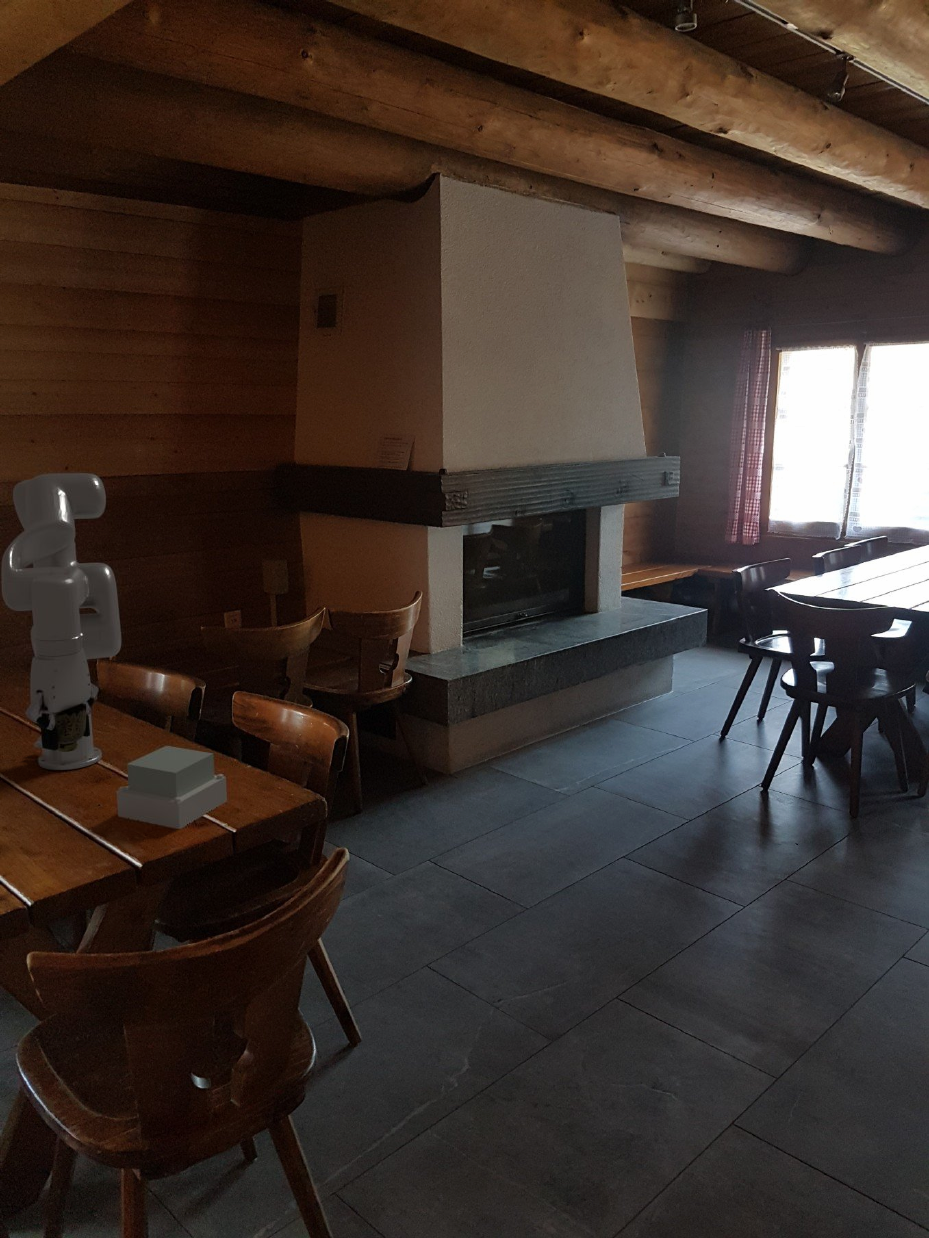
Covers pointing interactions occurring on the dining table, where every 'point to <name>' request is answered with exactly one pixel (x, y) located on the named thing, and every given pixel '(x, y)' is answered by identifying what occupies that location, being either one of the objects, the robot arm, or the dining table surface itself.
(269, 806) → the dining table surface
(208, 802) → the grey stacking block
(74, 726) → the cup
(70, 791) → the dining table surface
